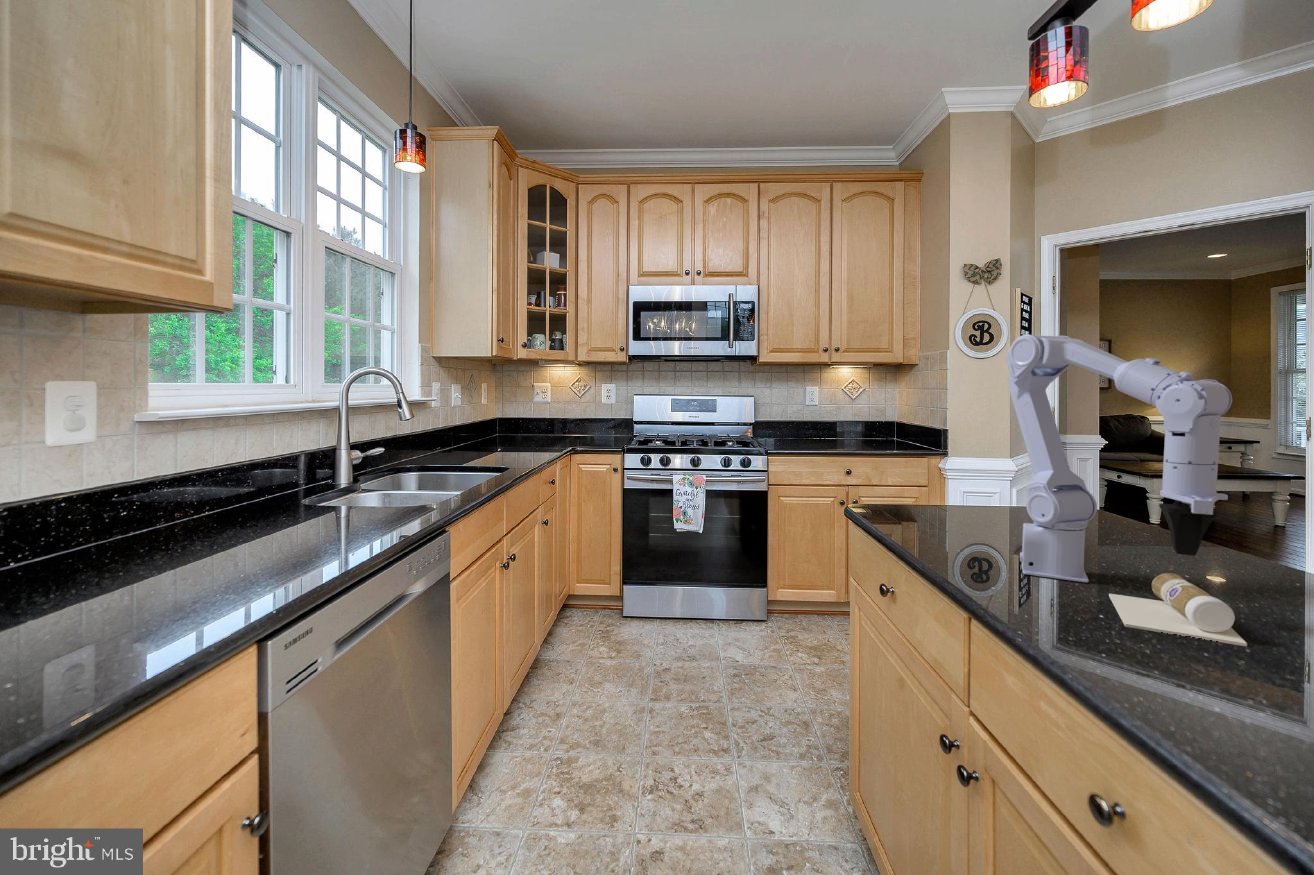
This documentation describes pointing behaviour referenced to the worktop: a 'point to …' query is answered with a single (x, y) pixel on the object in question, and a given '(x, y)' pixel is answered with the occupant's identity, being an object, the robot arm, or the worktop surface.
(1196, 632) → the silicone mat
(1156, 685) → the worktop surface
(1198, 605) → the sprinkles bottle
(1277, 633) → the worktop surface
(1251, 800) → the worktop surface
